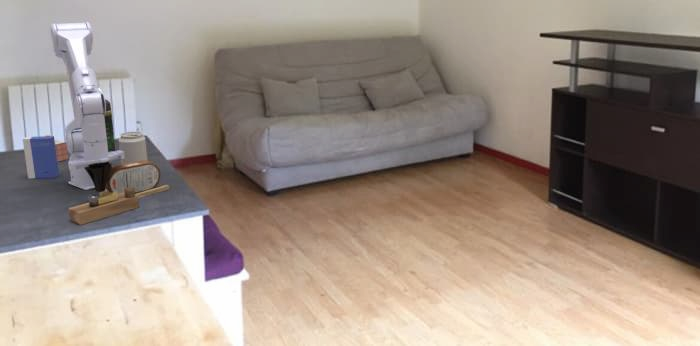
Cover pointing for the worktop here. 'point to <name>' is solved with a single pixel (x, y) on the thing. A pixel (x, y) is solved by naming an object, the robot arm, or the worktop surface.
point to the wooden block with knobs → (104, 208)
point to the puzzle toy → (61, 150)
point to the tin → (133, 177)
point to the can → (132, 147)
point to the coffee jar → (109, 127)
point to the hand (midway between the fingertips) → (100, 191)
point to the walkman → (41, 157)
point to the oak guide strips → (144, 191)
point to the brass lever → (102, 198)
